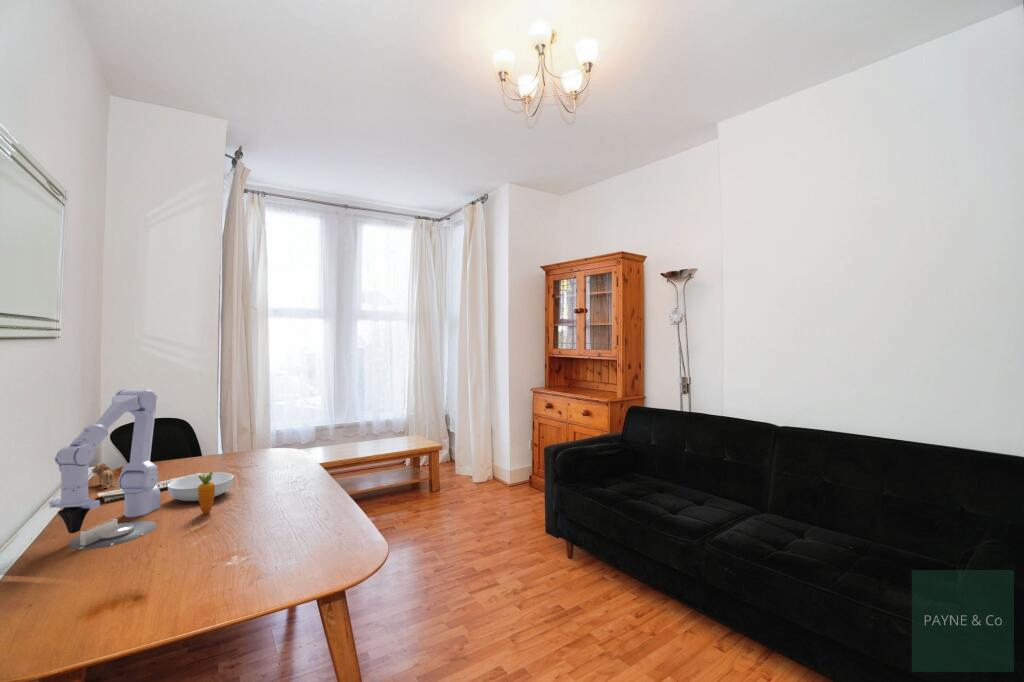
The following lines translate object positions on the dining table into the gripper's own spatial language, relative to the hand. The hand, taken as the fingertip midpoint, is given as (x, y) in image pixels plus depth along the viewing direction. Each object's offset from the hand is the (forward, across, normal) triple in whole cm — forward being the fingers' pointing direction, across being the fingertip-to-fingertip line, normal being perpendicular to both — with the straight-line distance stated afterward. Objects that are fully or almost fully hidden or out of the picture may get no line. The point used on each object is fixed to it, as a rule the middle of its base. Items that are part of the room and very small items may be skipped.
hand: (74, 532), depth 129 cm
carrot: (+4, +22, +24) cm, 33 cm away
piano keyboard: (+4, -23, +48) cm, 54 cm away
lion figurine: (+4, -48, +50) cm, 69 cm away
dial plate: (+4, +6, +6) cm, 10 cm away
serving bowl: (+4, +4, +41) cm, 42 cm away
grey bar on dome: (+3, +7, +4) cm, 8 cm away
